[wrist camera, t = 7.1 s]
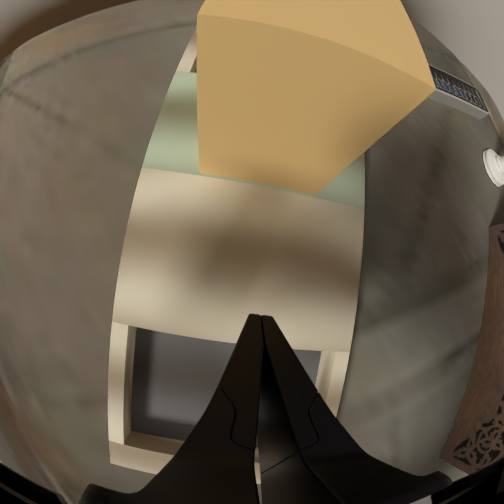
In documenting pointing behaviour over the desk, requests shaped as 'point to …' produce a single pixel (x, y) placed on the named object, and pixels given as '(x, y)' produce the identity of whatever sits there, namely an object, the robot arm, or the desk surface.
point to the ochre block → (302, 86)
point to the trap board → (221, 282)
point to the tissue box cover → (484, 379)
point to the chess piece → (494, 166)
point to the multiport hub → (457, 94)
